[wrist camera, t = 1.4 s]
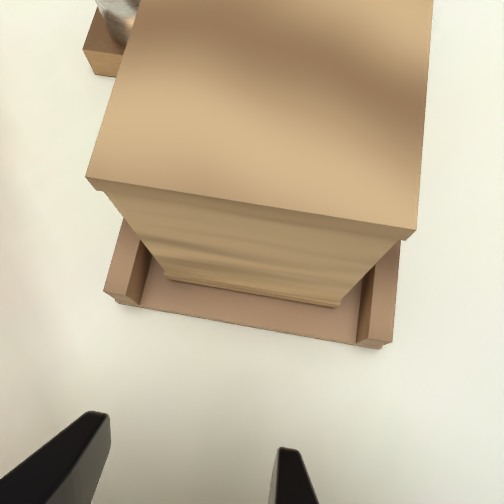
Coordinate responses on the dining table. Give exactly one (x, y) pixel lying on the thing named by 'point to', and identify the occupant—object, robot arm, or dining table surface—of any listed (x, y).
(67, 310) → the dining table surface
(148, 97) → the tall wooden block
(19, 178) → the dining table surface
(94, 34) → the post
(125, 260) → the bay
